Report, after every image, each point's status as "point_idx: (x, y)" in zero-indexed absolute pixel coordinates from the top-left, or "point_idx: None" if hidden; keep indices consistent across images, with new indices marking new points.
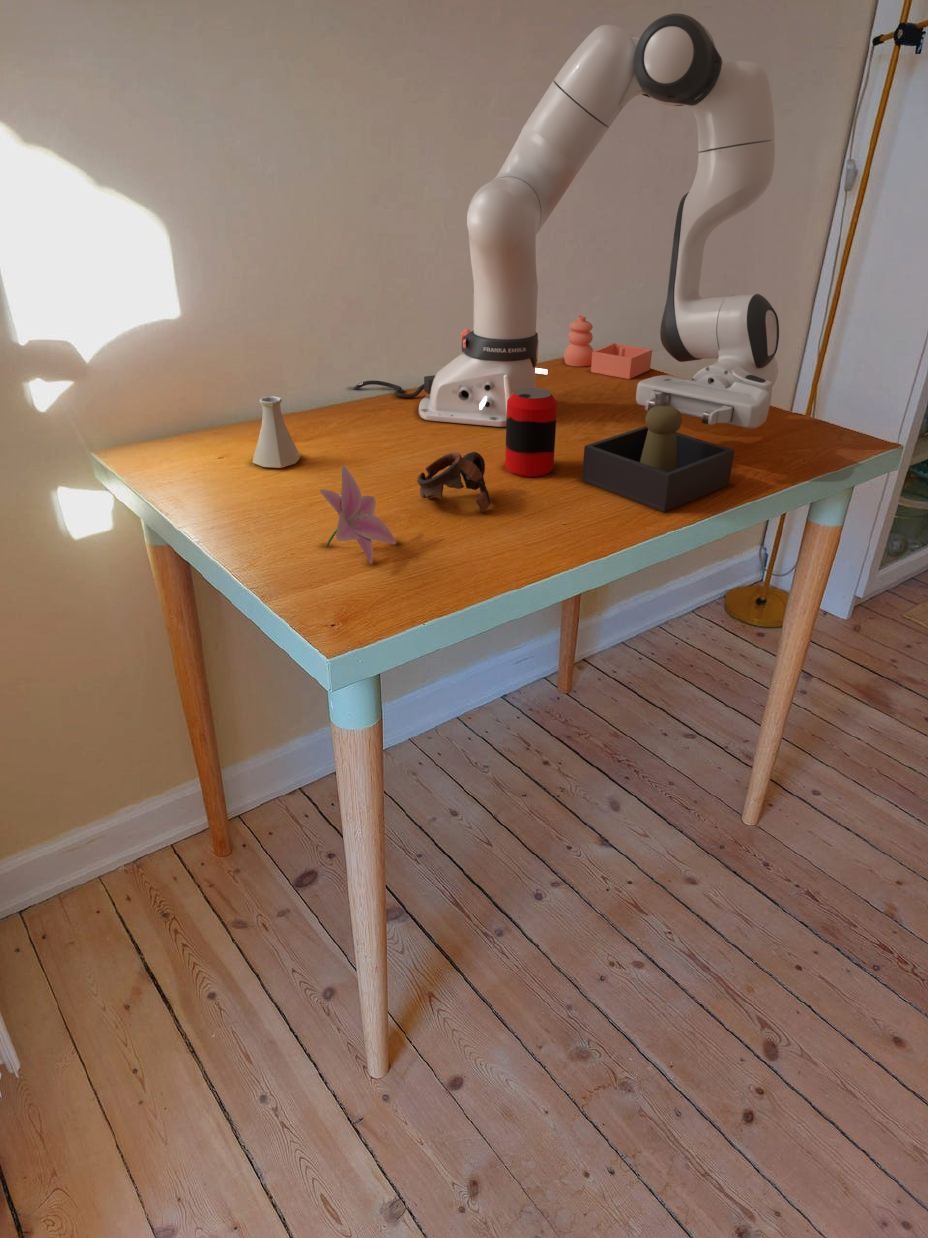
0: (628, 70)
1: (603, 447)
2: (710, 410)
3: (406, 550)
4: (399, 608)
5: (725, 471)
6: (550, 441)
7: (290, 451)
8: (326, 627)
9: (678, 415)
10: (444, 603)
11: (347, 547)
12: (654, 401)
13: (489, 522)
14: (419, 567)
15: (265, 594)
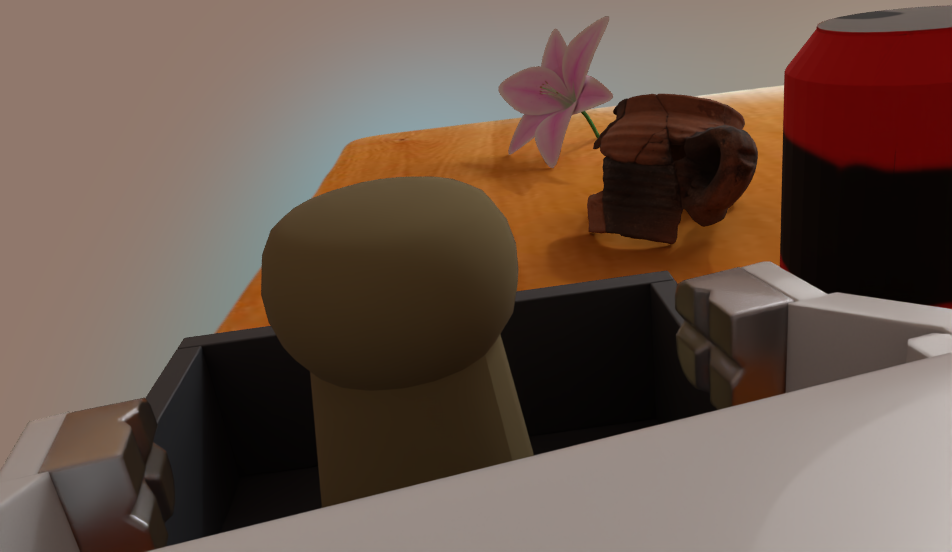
0: None
1: (675, 347)
2: (86, 447)
3: (519, 172)
4: (379, 161)
5: None
6: (798, 236)
7: None
8: (403, 137)
9: (267, 244)
10: (346, 179)
11: (580, 146)
12: (689, 279)
13: (536, 232)
14: (455, 175)
15: (512, 120)
